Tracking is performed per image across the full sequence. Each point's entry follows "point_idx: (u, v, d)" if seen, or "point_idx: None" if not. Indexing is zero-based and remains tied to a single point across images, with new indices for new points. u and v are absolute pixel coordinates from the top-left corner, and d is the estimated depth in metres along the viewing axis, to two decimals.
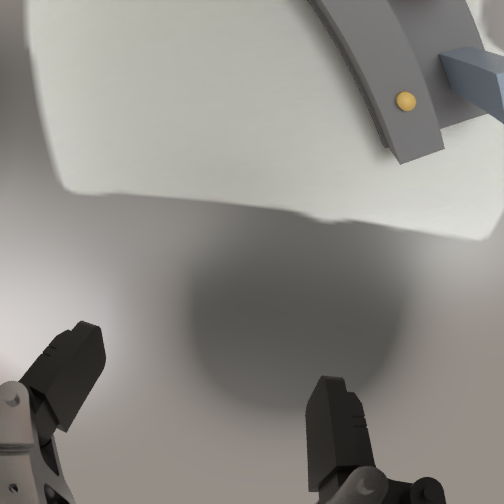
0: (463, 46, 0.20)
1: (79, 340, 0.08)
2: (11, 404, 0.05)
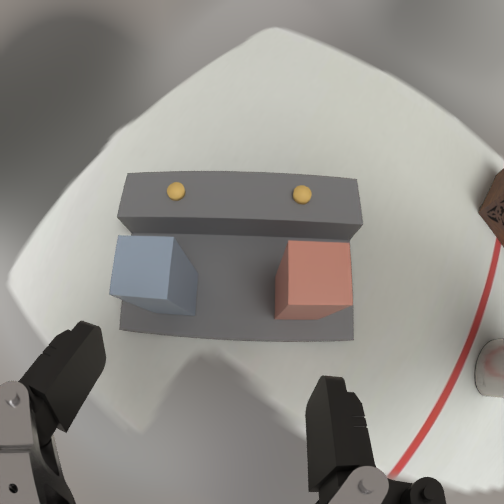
0: (197, 309, 0.33)
1: (79, 340, 0.08)
2: (11, 404, 0.05)
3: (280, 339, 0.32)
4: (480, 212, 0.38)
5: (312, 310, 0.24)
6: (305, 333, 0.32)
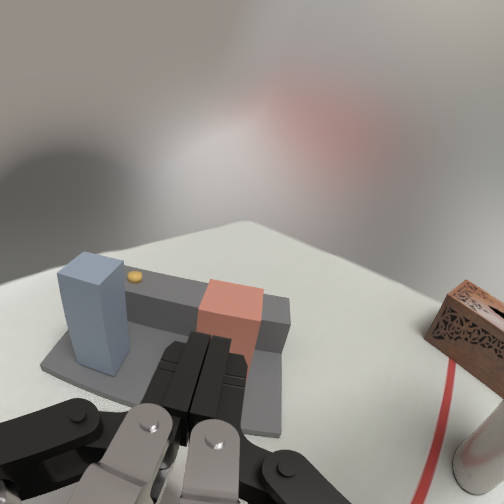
0: (118, 373, 0.28)
1: (200, 350, 0.09)
2: (153, 431, 0.06)
3: None
4: (426, 337, 0.44)
5: None
6: None
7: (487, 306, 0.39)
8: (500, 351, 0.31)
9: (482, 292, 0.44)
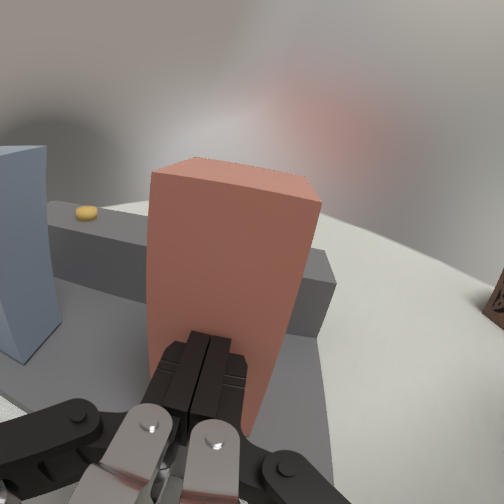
0: (32, 359, 0.13)
1: (200, 350, 0.09)
2: (153, 431, 0.06)
3: None
4: (484, 311, 0.31)
5: (219, 285, 0.09)
6: None
7: None
8: None
9: None
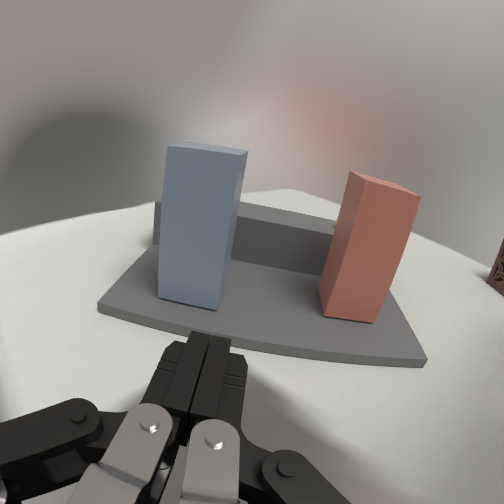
0: (220, 307, 0.24)
1: (200, 350, 0.09)
2: (153, 431, 0.06)
3: (338, 351, 0.21)
4: (487, 280, 0.43)
5: (383, 228, 0.21)
6: (369, 348, 0.21)
7: None
8: None
9: None
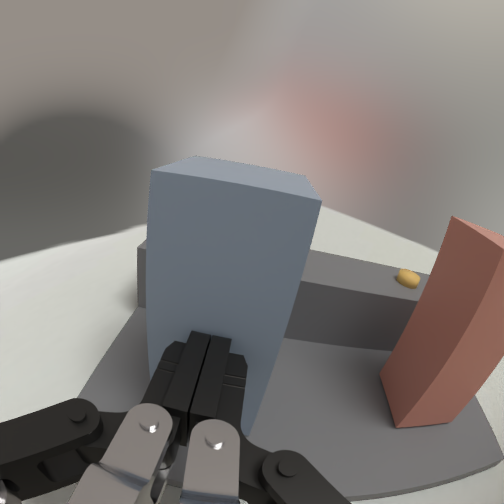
0: (250, 439, 0.13)
1: (200, 350, 0.09)
2: (153, 431, 0.06)
3: (418, 483, 0.10)
4: None
5: (503, 317, 0.10)
6: (450, 466, 0.10)
7: None
8: None
9: None
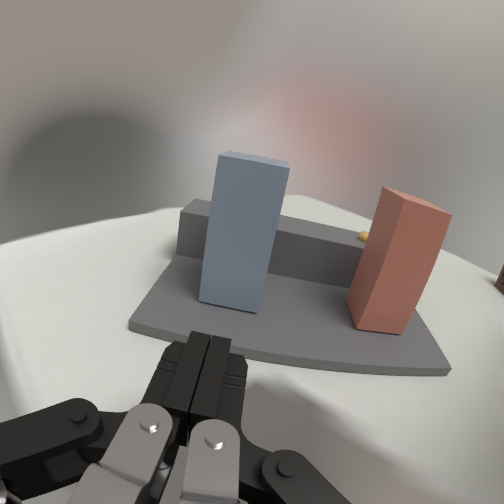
0: (257, 322, 0.23)
1: (200, 350, 0.09)
2: (153, 431, 0.06)
3: (374, 363, 0.20)
4: (495, 284, 0.46)
5: (417, 244, 0.21)
6: (400, 359, 0.21)
7: None
8: None
9: None
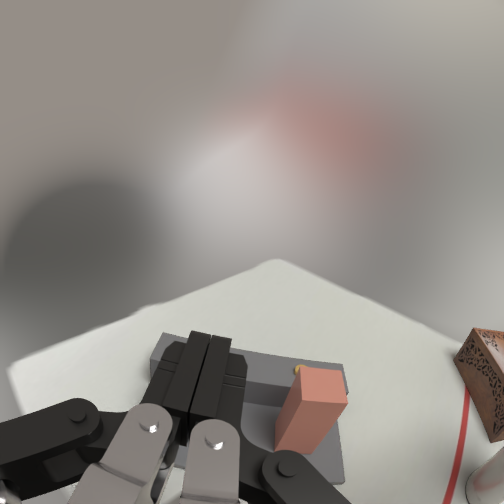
0: None
1: (200, 350, 0.09)
2: (153, 431, 0.06)
3: None
4: (454, 359, 0.53)
5: (315, 419, 0.27)
6: None
7: (503, 349, 0.42)
8: (492, 381, 0.37)
9: None
